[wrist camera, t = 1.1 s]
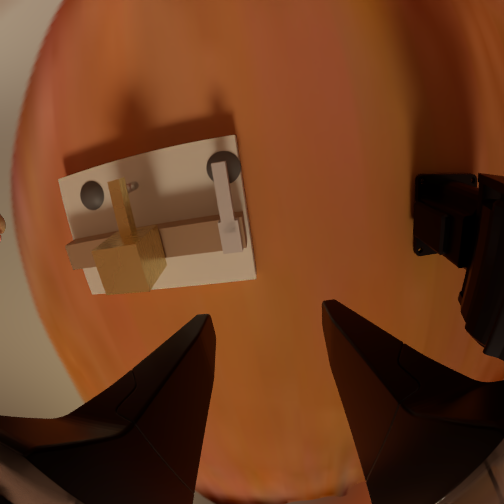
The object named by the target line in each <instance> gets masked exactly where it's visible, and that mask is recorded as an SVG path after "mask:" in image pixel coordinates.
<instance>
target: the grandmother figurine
mask: <svg viewBox="0 0 504 504" xmlns="http://www.w3.org/2000/svg"><path fill="white" fill-rule="evenodd" d="M5 228H6V224H5V221H4V218H3V217H2V216H1V215H0V234H2V233H4V231H5ZM0 242H1V235H0Z"/></svg>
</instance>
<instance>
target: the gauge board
mask: <svg viewBox="0 0 504 504" xmlns="http://www.w3.org/2000/svg"><path fill="white" fill-rule="evenodd" d="M123 177H125V182H126V184H128V183H131V182H133V181H136V182H138V184H139V187H138V189H137V190H135V191H132V192H130V193H128V196H129V200H130V205H131V209H132V213H133V217H134V221H135V225H136V228H139V227H145V226H151V225H157V227H158V231H159V235H160V239H161V243H162V247H163V251H164V255H165V259H166V263H167V266H166V268H165V269H164V271H163V272H162V274H161V275H160V277H159V278H158V280H157V281H156V283H155V284H154V286H153V287H152V289H164V288H174V287H185V286H195V285H205V284H214V283H224V282H233V281H242V280H251V279H256V265H255V258H254V252H253V245H252V238H251V232H250V225H249V218H248V211H247V205H246V198H245V191H244V185H243V178H242V171H241V164H240V158H239V151H238V145H237V138H236V135H230V136H224V137H218V138H212V139H206V140H201V141H196V142H191V143H186V144H181V145H176V146H172V147H167V148H163V149H159V150H154V151H150V152H146V153H142V154H138V155H135V156H131V157H127V158H123V159H120V160H116V161H113V162H110V163H106V164H103V165H100V166H96V167H93V168H90V169H87V170H84V171H81V172H78V173H75V174H72V175H69V176H66V177H63V178H61V179H58V181H59V185H60V190H61V194H62V199H63V203H64V207H65V211H66V215H67V219H68V222H69V226H70V230H71V233H72V236H73V241H71V242H70V243H69V244H67V245H66V246H65V247H66V250H67V253H68V256H69V259H70V262H71V265H72V268H73V270H75V269H83V271H84V273H85V276H86V279H87V282H88V284H89V287H90V290H91V292H92V294H104V293H105V290H104V287H103V284H102V282H101V279H100V276H99V273H98V270H97V267H96V264H95V261H94V258H93V255H92V252H91V251H92V250H93V249H95V248H96V247H97V246H98V245H100V244H101V243H102V242H104V241H105V240H106V239H108V238H109V237H110V236H112V235H113V234H114V233H116V232H117V231H119V229H118V225H117V221H116V217H115V213H114V209H113V205H112V201H111V196H110V192H109V187H108V183H107V182H109V181H112V180H115V179H119V178H123ZM152 289H151V290H152Z"/></svg>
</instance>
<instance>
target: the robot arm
mask: <svg viewBox="0 0 504 504" xmlns="http://www.w3.org/2000/svg"><path fill="white" fill-rule="evenodd" d="M421 179H423V183H422V184H421V182H420V181H421ZM471 179H472V182H471ZM478 182H479V188H477V178H476V176H475V175H473V174H420V175H418V176H417V177H416V180H415V203H414V225H413V234H414V248H413V250H414V253H415V254H416V255H418V256H424V255H430V254H436V253H438V254H439V255H443V256H444V257H446V258H447V259H448V260H449V261H451V262H452V263H453V264H454V265H456V266H457V267H458V268H464V269H465V270H466V274H465V279H464V283H463V287H462V291H461V292H460V293H459V297H458V301H459V303H460V305H461V314H462V316H463V318H464V320H465V322H466V324H465V329H466V331H467V332H468V333H469V334H470V335H471V336H472V338H474V339H475V340H476V341H477V343H479V344H480V345H481V346H482V347H484V350H483V353H484V354H486V355H489V356H493V357H496V358H499V359H501V360H503V361H504V176H498V175H490V174H482V173H478ZM420 247H421V250H420V251H418V249H419V248H420ZM322 326H323V332H324V337H325V342H326V347H327V352H328V357H329V362H330V367H331V370H332V373H333V376H334V379H335V382H336V385H337V388H338V391H339V395H340V398H341V401H342V404H343V407H344V410H345V413H346V416H347V420H348V423H349V426H350V429H351V432H352V436H353V439H354V442H355V446H356V449H357V452H358V456H359V459H360V462H361V466H362V469H363V473H364V476H365V480H366V484H367V487H368V491H369V495H370V498H371V502H372V504H504V380H502V381H497V382H480V381H476V380H474V379H471V378H469V377H467V376H465V375H463V374H461V373H458V372H456V371H454V370H452V369H450V368H448V367H446V366H444V365H442V364H440V363H438V362H436V361H434V360H432V359H430V358H428V357H426V356H425V355H423V354H421V353H420V352H418V351H416V350H415V349H413V348H411V347H410V346H408V345H407V344H403V342H402V341H400V340H398V339H397V338H395V337H394V336H392V335H391V334H389V333H387V332H386V331H384V330H383V329H381V328H379V327H378V326H376V325H375V324H373V323H372V322H370V321H368V320H367V319H365V318H364V317H362V316H360V315H359V314H357V313H356V312H354V311H352V310H351V309H349V308H348V307H346V306H345V305H343V304H341V303H340V302H338V301H337V300H334V299H333V300H326V301H323V302H322ZM215 351H216V335H215V330H214V327H213V323H212V319H211V316H210V315H209V314H199V315H196V316H195V317H194V318H193V319H192V320H190V321H189V322H188V323H187V324H186V325H184V326H183V327H182V328H181V329H180V330H178V331H177V332H176V333H175V334H174V335H172V336H171V337H170V338H169V339H168V340H167V341H165V342H164V343H163V344H162V345H161V346H159V347H158V348H157V349H156V350H155V351H153V352H152V353H151V354H150V355H148V356H147V357H146V358H145V359H144V360H142V361H141V362H140V363H139V364H138V365H136V366H135V367H134V368H133V369H132V370H130V371H129V372H128V373H127V374H125V375H124V376H123V377H122V378H120V379H119V380H118V381H117V382H115V383H114V384H113V385H111V386H110V387H109V388H107V389H106V390H104V391H103V392H101V393H100V394H98V395H97V396H95V397H94V398H92V399H91V400H89V401H88V402H86V403H85V404H83V405H82V406H80V407H79V408H78V409H76V410H75V411H73V412H71V413H70V414H68V415H65V416H63V417H59V418H54V419H42V418H23V417H11V416H1V415H0V504H193V498H194V492H195V485H196V479H197V473H198V468H199V462H200V456H201V450H202V444H203V438H204V433H205V427H206V421H207V416H208V410H209V404H210V399H211V393H212V388H213V382H214V371H215Z"/></svg>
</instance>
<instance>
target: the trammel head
mask: <svg viewBox="0 0 504 504" xmlns="http://www.w3.org/2000/svg"><path fill="white" fill-rule="evenodd" d="M107 183H108V187H109V192H110V196H111V201H112V205H113V209H114V213H115V217H116V221H117V225H118V229H119V231H117V232H116V233H114V234H113V235H112V236H110V237H109V238H108V239H106V240H105V241H104V242H102V243H101V244H100V245H98V246H97V247H96V248H95V249H93V250H92V251H91V252H92V255H93V258H94V261H95V264H96V267H97V270H98V273H99V276H100V279H101V282H102V284H103V287H104V290H105V293H106V295H111V294H124V293H136V292H148V291H150V290H151V289H152V287H153V286H154V284H155V283H156V281H157V280H158V278H159V277H160V275H161V274H162V272H163V271H164V269H165V268H166V266H167V263H166V259H165V255H164V251H163V247H162V243H161V239H160V235H159V231H158V227H157V225H151V226H145V227H139V228H136V225H135V221H134V217H133V213H132V209H131V205H130V200H129V196H128V193H130V192H132V191H135V190H137V189H138V187H139V184H138V182H136V181H133V182H131V183H128V184H126V182H125V177H123V178H119V179H115V180H112V181H109V182H107Z"/></svg>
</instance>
